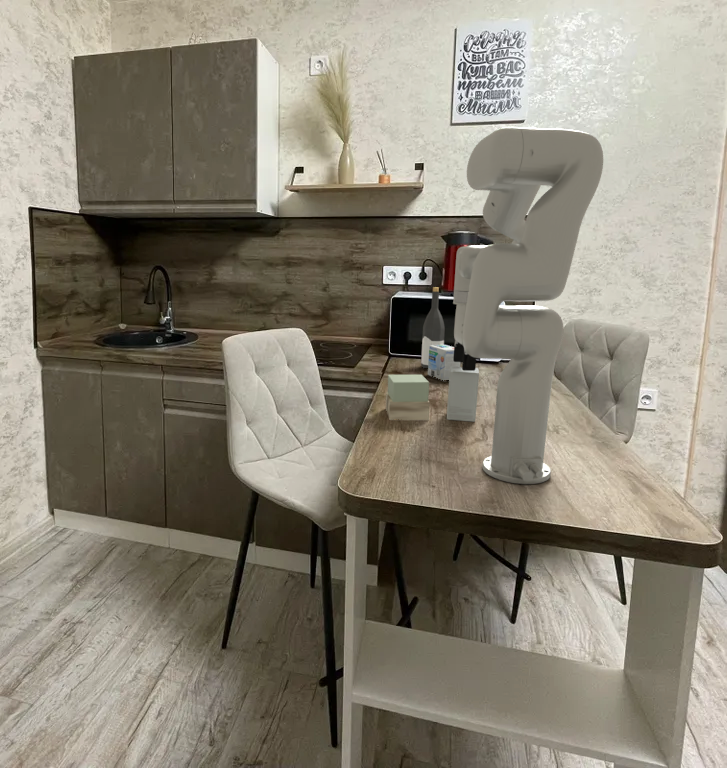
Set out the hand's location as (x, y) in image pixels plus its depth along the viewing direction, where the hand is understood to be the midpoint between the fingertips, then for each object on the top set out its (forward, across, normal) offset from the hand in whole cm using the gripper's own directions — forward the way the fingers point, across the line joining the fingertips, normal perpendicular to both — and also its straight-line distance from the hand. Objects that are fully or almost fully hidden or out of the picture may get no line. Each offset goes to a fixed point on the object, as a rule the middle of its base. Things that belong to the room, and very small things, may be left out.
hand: (463, 365), depth 132 cm
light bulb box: (+15, +46, -5) cm, 49 cm away
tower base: (+14, +1, +14) cm, 20 cm away
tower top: (+9, +1, +14) cm, 17 cm away
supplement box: (+14, -1, 0) cm, 14 cm away
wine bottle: (+15, +63, -4) cm, 65 cm away
